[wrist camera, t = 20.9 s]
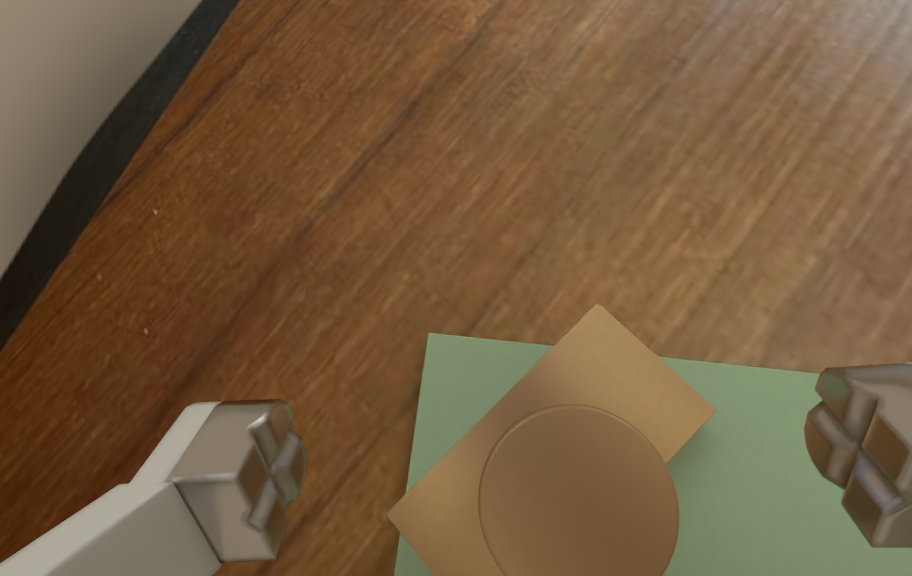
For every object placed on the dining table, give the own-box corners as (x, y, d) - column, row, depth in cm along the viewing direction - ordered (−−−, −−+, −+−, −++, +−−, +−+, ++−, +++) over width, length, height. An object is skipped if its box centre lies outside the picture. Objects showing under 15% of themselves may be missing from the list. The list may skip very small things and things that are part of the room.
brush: (497, 613, 18) (451, 943, 7) (405, 501, 19) (232, 612, 8) (688, 412, 19) (942, 391, 7) (587, 319, 20) (669, 180, 9)
